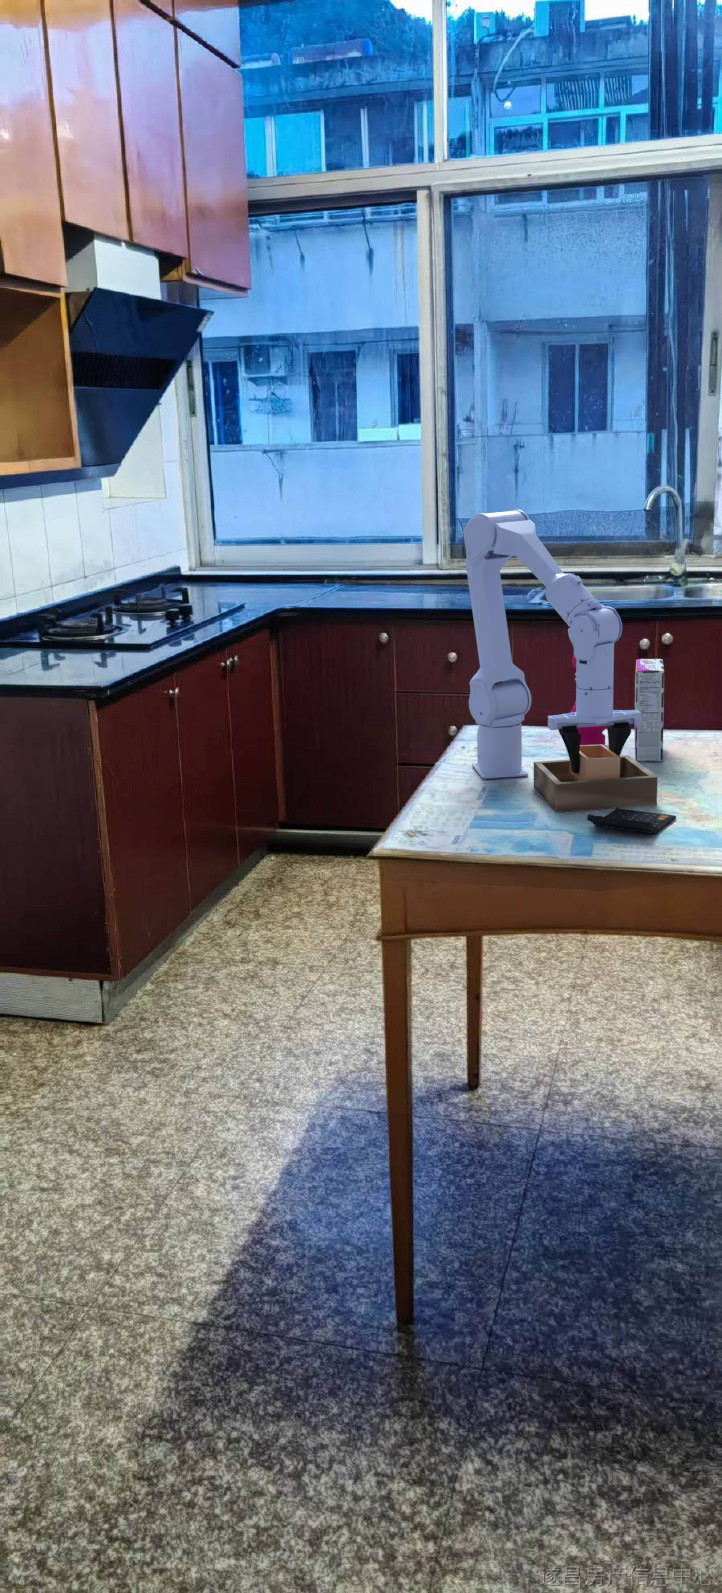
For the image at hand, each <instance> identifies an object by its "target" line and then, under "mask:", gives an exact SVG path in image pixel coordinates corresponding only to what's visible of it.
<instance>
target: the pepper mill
mask: <svg viewBox="0 0 722 1593" xmlns="http://www.w3.org/2000/svg"><path fill="white" fill-rule="evenodd" d="M572 666H573V668H574V669H575V670H576V658H575V655H574V654H573V655H572ZM574 676H575V677H574V681H576V672H575V673H574ZM572 706H573V707H572V708H571V710H570V712H569V713H573V712H576V700H575V702H574V704H573V705H572ZM606 729H607V725H606V726H592V727H577V730H578V733H579V734H581V741H580V745H601V744H603V745H604V746H606V735H605V734H604V733H603V732H604V731H605V730H606Z"/></svg>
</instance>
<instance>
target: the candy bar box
mask: <svg viewBox="0 0 722 1593" xmlns="http://www.w3.org/2000/svg"><path fill="white" fill-rule="evenodd" d="M634 672H635V675H634V676H635V677H634V710H638V711H639V712H641V724H636V725H635V724H634V754H635V761H637V762H638V763H661V762H663V761H664V760H663V757H664V756H663V755H664V721H665V720H664V716H665V715H664V714H665V713H664V711H665V709H664V708H665V707H664V704H665V698H664V697H665V695H664V694H665V667H664V661H663V659H661V658H638V659H635V671H634Z"/></svg>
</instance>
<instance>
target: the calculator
mask: <svg viewBox="0 0 722 1593" xmlns="http://www.w3.org/2000/svg"><path fill="white" fill-rule="evenodd" d="M586 818H587V819H586V821H588V822H590V823H591V824H593V825H595V826H596V827H604V828H611V829H618V830H626V831H633V832H639V833H647V834H654V835H658V834H660V832H661V831H663V830H664V829H666V828H667V827H669V825H671V824H672V823H673V822H674V821H676V820H677V815H673V814H668V813H667V814H665V813H659V812H651V811H642V810H638V809H637V810H636V809H628V808H627V809H626V808H613V810H611V811H610V812H609V813H607V814H606V815H605V816H604V815H597V814H587V817H586Z"/></svg>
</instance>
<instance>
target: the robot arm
mask: <svg viewBox="0 0 722 1593" xmlns="http://www.w3.org/2000/svg"><path fill="white" fill-rule="evenodd" d="M536 526H537V525H536V524H535V522H533V521H532V520H531V519H530V517H529V516H528V514H527V513H526V512H525V511H523V510H522V509H512V510H508V511H499V512H498V511H497V512H488V513H487V512H486V513H483V512H481V513H480V512H478V513H475V514H474V515H472V516H471V517H470V519H469V520H468V522H467V524H466V525H465V527H464V529H463V530H462V532H463V539H464V547H465V555H466V559H465V569H466V575H467V581H468V589H469V596H470V604H471V611H472V617H473V624H474V625H473V626H474V632H475V640H476V647H477V654H478V661H479V669H478V670H477V672H476V673H475V674H473V677H472V678H471V679H470V681H469V690H470V691H469V698H468V708H469V712H470V714H471V716H472V718H473V720H474V721H475V724H477V725H478V728H477V732H476V741H477V742H476V745H477V746H476V748H477V749H476V750H477V752H476V753H477V758H476V760H477V762H473V763H471V767H473V768H474V770H475V772H476V773H477V774H478V775H479V776H480V777H481V778H482V779H484V780H487V779H489V780H490V779H501V778H503V779H504V778H514V777H515V778H516V777H518V778H519V777H527V776H529V772H528V771H527V770H526V769H525V768H524V767H523V762H522V761H523V760H522V758H523V757H522V756H523V753H522V752H523V749H522V748H523V746H522V745H523V744H522V742H523V741H522V727H523V726H522V725H523V724H522V722H523V721H525V715H526V714H527V713H528V712H529V711H530V709H531V706H532V694H531V690H530V689H529V687H528V685H527V682H526V679H525V678H526V676H525V673H524V671H523V670H522V669H520V668H519V667H517V666H516V665H515V664H514V663H513V658H512V652H511V644H510V637H509V629H508V621H507V614H506V608H505V601H504V599H505V598H504V592H503V584H502V579H501V570H502V569H503V567H504V565H505V564H506V563H507V561H508V560H509V559H511V558H512V557H516V558H517V559H518V560H520V562H521V563H522V564H523V566H525V567H526V568H527V569H528V571H530V572H531V573H532V574H533V576H535V577H536V578H537V580H538V581H539V582H540V583H541V584H542V585H543V586H544V587H546V590H545V599H546V600H547V602H549V604H550V605H551V606H552V608H553V609H554V610H555V611H556V612H557V614H558V615H559V616H560V617H561V618H562V620H563V622H565V623H566V625H568V627H569V628H568V629H567V634H568V638H569V640H570V642H571V644H572V646H573V655H575V658H576V669H575V670H576V671H575V673H576V676H575V678H576V680H575V684H576V686H575V688H576V689H575V691H576V692H575V701H576V712H573V713H570V712H568V713H563V714H562V713H561V714H557V715H556V714H554V715H548V716H547V728H548V730H551V731H557V730H558V733H559V735H560V737H561V739H562V741H563V745H565V749H566V752H567V755H568V757H569V758H568V759H570V763H571V770H572V771H573V772H574V773H575V774H577V773H579V770H580V760H579V751H580V741H581V734H579V733H578V730H577V727H592V726H606V725H607V727H606V729H607V738H608V739H607V740H608V749H610V750H611V751H612V752H614V753H615V754H616V755H617V756H619V757H620V756H621V754H622V751H623V748H624V746H625V744H626V743H627V741H628V740H629V738H630V736H631V733H632V727H631V726H630V725H632V724H633V725H634V726H635V725H636V724H641V712H639V711H638V710H635V709H625V710H623V709H622V710H621V709H614V668H615V667H614V666H615V665H614V664H615V663H614V662H615V661H614V660H615V643H616V642H617V641H619V640H620V638H621V635H622V633H623V622H622V619H621V617H620V615H619V613H618V611H617V609H615V608H614V607H611V606H605V605H604V604H603V603H600V601H599V600H598V599H597V598H595V597H594V596H593V595H592V593H590V591H589V590H588V589H587V587H586V586H585V585H584V583H583V578H581V577H580V576H579V575H575V573H564V572H563V570H562V569H561V567H560V566H559V564H558V563H557V562H556V561H555V559H554V558H553V556H552V555H551V553H550V552H549V551H548V549H547V548H546V547H545V545H544V543H542V541H541V540H540V538H539V537H538V535H537V534H536V532H537V527H536ZM500 682H501V683H500ZM496 683H497V684H496Z"/></svg>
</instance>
